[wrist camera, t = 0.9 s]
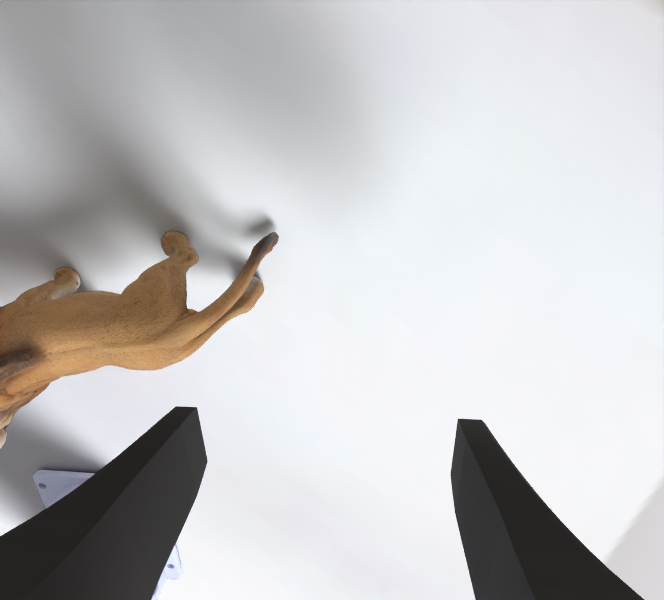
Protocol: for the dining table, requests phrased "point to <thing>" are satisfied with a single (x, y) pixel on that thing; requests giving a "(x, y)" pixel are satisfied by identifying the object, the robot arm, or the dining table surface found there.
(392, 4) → the dining table surface
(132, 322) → the lion figurine
